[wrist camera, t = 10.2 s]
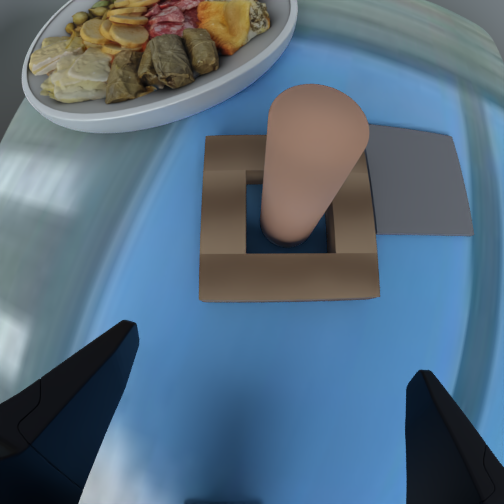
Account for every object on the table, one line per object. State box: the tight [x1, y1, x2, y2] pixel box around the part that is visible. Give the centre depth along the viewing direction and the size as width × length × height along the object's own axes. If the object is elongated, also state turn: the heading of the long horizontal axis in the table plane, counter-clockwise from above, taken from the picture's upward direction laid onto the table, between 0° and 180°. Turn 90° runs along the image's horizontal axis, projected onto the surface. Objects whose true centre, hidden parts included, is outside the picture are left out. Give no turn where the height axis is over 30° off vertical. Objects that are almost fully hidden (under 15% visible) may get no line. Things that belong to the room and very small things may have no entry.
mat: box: [364, 124, 474, 236], centre depth 25 cm, size 10×10×1 cm
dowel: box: [260, 84, 369, 248], centre depth 18 cm, size 4×4×13 cm
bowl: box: [22, 0, 298, 133], centre depth 25 cm, size 30×30×8 cm
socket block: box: [199, 135, 380, 302], centre depth 23 cm, size 12×12×2 cm
